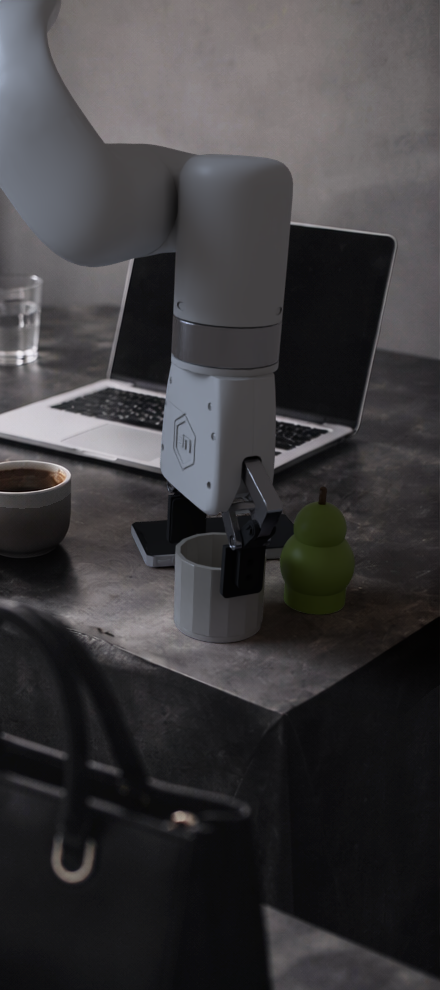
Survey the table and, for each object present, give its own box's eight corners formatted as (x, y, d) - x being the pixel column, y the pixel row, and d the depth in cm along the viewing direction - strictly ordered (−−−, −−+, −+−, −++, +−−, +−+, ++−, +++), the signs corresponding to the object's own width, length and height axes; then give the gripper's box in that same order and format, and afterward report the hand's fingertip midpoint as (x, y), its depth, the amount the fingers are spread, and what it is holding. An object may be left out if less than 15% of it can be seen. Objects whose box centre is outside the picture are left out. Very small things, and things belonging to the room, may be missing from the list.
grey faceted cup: (172, 641, 72) (174, 568, 70) (175, 599, 79) (176, 531, 77) (264, 644, 73) (268, 571, 70) (259, 602, 79) (263, 533, 77)
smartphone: (313, 546, 87) (147, 557, 83) (312, 558, 88) (147, 570, 83) (283, 512, 94) (130, 521, 90) (282, 523, 95) (130, 533, 91)
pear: (279, 616, 77) (288, 499, 73) (275, 582, 82) (282, 472, 79) (356, 619, 77) (367, 501, 73) (345, 585, 82) (356, 474, 79)
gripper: (130, 319, 73) (125, 528, 80) (232, 378, 59) (216, 627, 65) (220, 316, 77) (208, 517, 83) (338, 371, 62) (312, 609, 69)
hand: (211, 565), depth 74 cm, fingers open, 9 cm apart
